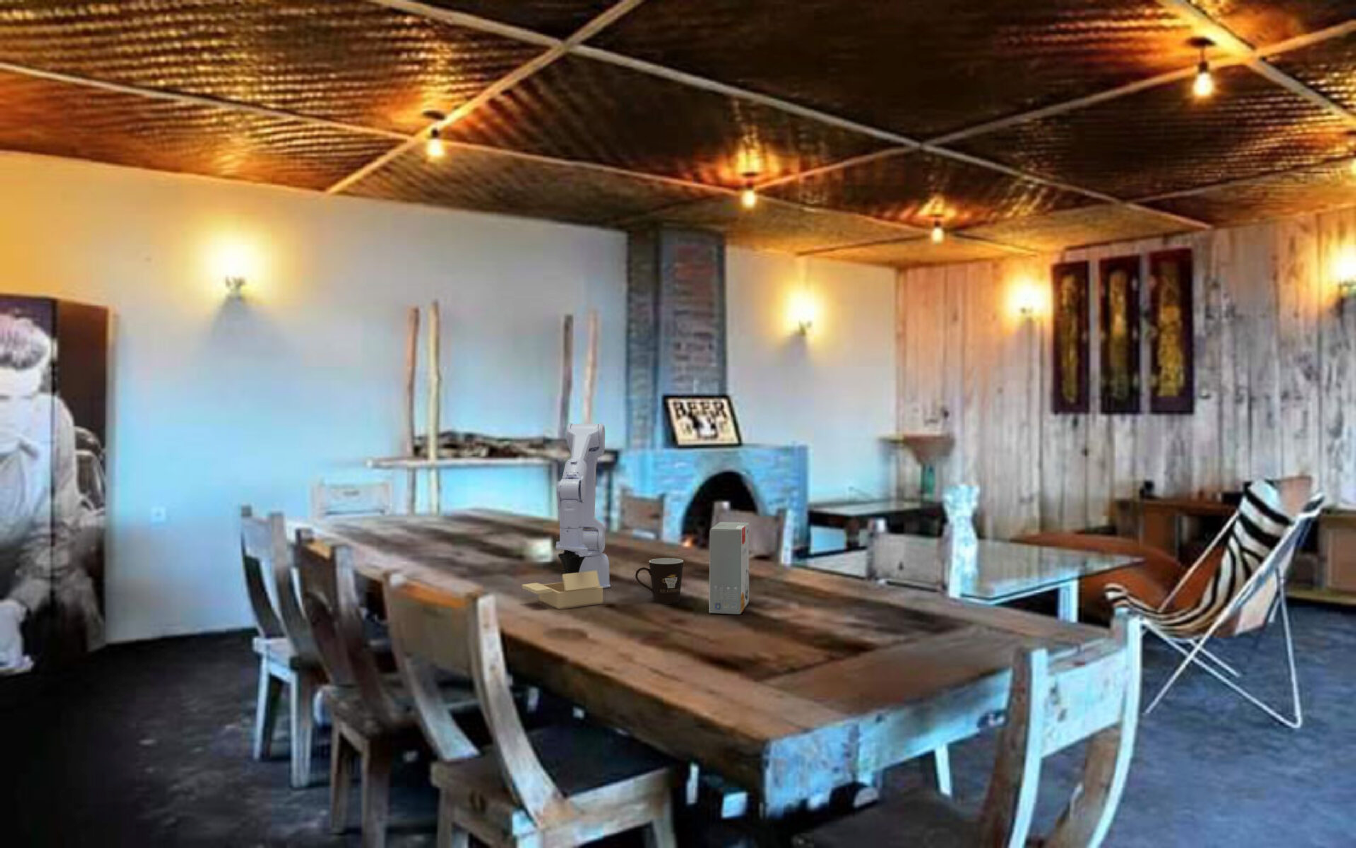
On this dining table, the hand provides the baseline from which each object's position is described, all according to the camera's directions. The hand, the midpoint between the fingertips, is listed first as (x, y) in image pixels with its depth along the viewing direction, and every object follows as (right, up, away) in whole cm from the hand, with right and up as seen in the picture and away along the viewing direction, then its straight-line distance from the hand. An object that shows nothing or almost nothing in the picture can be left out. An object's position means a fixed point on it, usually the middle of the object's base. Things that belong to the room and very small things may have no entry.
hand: (571, 581), depth 234 cm
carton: (0, -5, +1) cm, 5 cm away
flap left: (+2, +1, -4) cm, 5 cm away
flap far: (-8, 0, -4) cm, 9 cm away
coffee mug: (+22, -5, +2) cm, 23 cm away
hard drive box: (+39, -5, -7) cm, 40 cm away
